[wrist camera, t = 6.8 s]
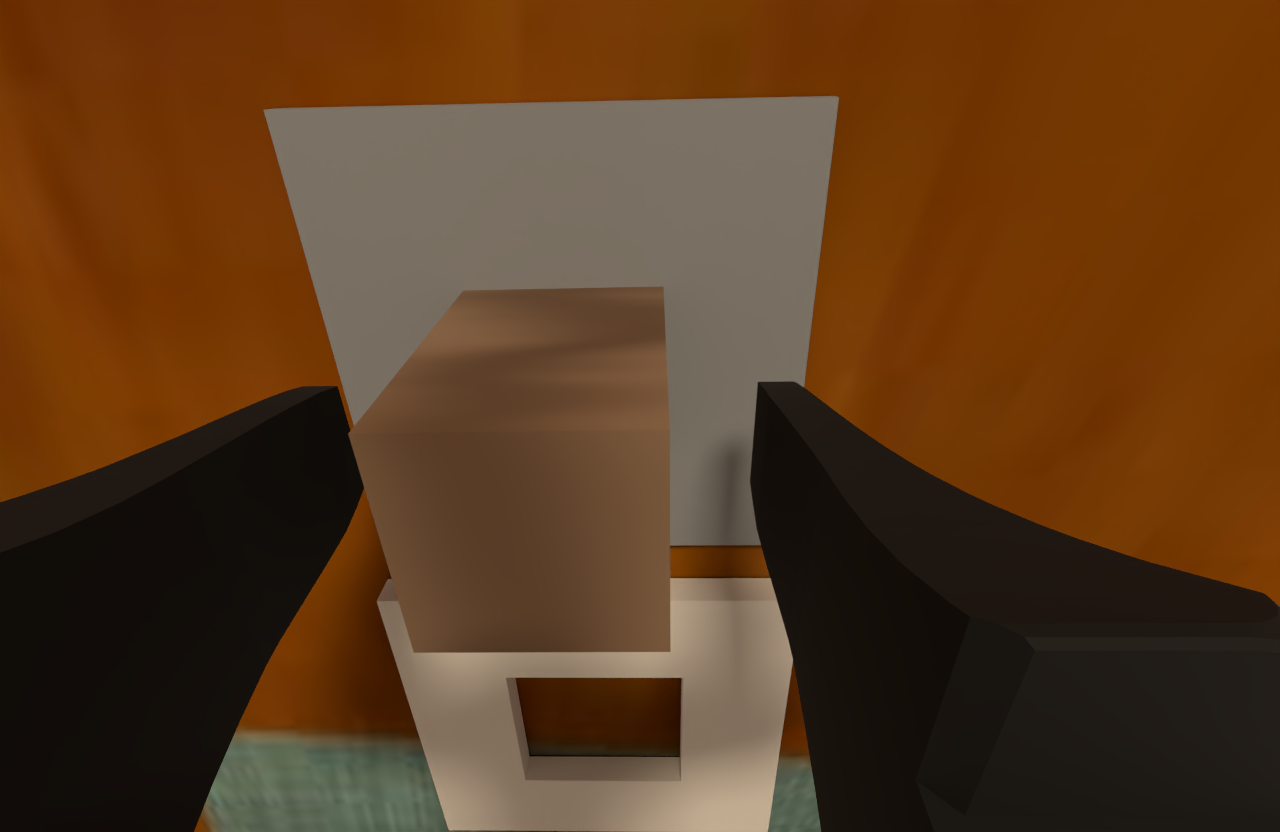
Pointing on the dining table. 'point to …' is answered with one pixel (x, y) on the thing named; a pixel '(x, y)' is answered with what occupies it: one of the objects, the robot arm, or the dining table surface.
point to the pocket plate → (612, 786)
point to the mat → (579, 244)
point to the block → (528, 474)
